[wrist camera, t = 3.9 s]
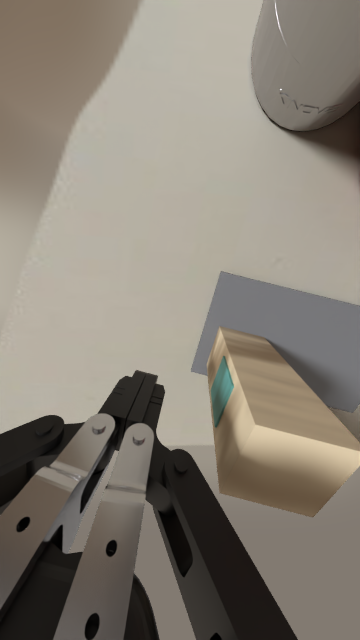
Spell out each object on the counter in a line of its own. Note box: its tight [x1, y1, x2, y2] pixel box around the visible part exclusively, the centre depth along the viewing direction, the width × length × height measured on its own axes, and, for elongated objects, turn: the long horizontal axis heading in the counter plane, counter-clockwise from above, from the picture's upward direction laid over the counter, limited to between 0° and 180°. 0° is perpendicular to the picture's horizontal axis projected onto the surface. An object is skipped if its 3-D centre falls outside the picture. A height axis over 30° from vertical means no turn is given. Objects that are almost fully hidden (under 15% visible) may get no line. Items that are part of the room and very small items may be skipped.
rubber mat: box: [191, 272, 360, 413], centre depth 19 cm, size 12×20×1 cm, turn 77°
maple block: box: [207, 326, 360, 517], centre depth 14 cm, size 5×5×12 cm
